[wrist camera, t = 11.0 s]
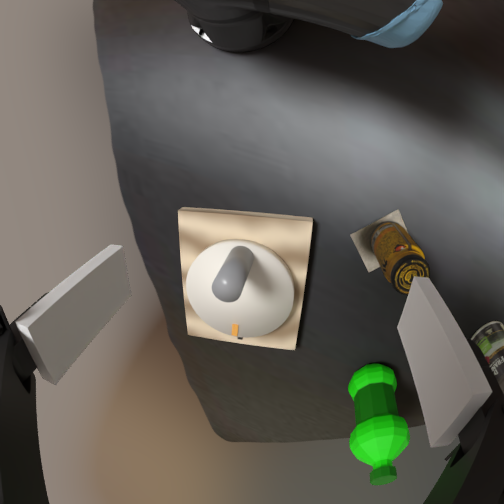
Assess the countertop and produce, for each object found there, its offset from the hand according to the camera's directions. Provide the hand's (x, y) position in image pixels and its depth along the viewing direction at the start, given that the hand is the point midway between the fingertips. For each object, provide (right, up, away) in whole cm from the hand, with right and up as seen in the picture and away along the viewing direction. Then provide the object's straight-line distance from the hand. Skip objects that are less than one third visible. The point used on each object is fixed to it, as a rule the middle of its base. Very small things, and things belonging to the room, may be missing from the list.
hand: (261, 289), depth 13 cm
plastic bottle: (+24, -23, +41) cm, 53 cm away
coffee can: (+50, -17, +34) cm, 63 cm away
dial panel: (-2, -3, +37) cm, 37 cm away
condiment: (+20, +3, +30) cm, 36 cm away
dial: (-2, -4, +35) cm, 35 cm away
